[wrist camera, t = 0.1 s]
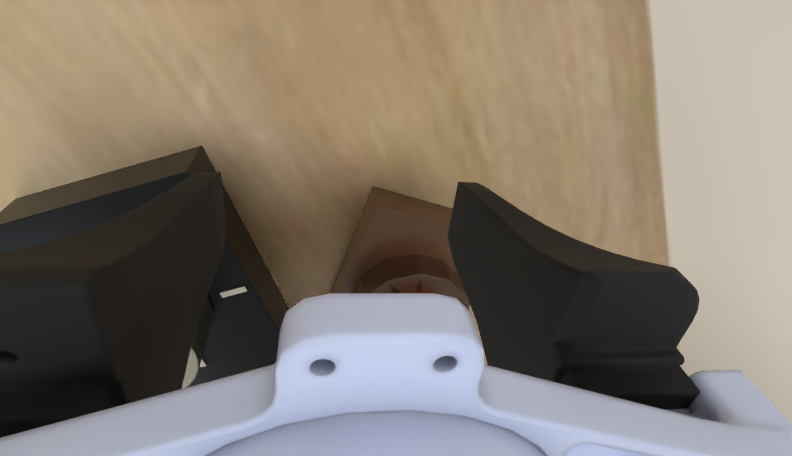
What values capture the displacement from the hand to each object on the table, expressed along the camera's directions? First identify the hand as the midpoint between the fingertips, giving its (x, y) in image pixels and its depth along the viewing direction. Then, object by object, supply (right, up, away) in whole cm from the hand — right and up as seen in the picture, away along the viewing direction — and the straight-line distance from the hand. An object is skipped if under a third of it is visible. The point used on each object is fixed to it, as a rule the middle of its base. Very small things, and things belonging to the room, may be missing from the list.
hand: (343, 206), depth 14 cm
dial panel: (-11, -3, +13) cm, 17 cm away
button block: (+2, -4, +15) cm, 16 cm away
